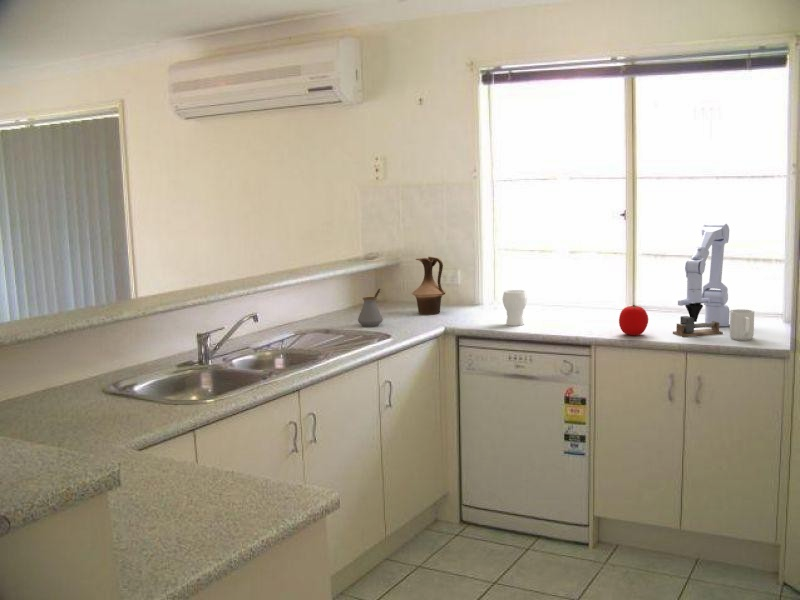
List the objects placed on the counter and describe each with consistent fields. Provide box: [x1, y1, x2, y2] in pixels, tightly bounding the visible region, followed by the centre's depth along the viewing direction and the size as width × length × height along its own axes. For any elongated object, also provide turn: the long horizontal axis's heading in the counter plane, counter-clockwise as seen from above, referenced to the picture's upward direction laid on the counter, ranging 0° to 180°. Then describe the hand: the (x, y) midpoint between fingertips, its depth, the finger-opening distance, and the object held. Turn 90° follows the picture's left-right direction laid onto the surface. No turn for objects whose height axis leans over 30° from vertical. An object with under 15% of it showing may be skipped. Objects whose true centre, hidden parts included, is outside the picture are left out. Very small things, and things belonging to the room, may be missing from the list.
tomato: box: [618, 304, 649, 336], centre depth 352 cm, size 12×12×13 cm
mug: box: [729, 308, 755, 341], centre depth 337 cm, size 12×9×11 cm
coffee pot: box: [357, 288, 384, 328], centre depth 394 cm, size 21×12×15 cm, turn 163°
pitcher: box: [411, 256, 447, 316], centre depth 417 cm, size 18×17×28 cm
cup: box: [502, 289, 528, 327], centre depth 382 cm, size 11×11×15 cm
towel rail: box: [672, 321, 724, 338], centre depth 351 cm, size 18×8×4 cm, turn 102°
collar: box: [679, 315, 695, 333], centre depth 349 cm, size 3×5×6 cm, turn 12°
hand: (693, 321), depth 350 cm, fingers closed
